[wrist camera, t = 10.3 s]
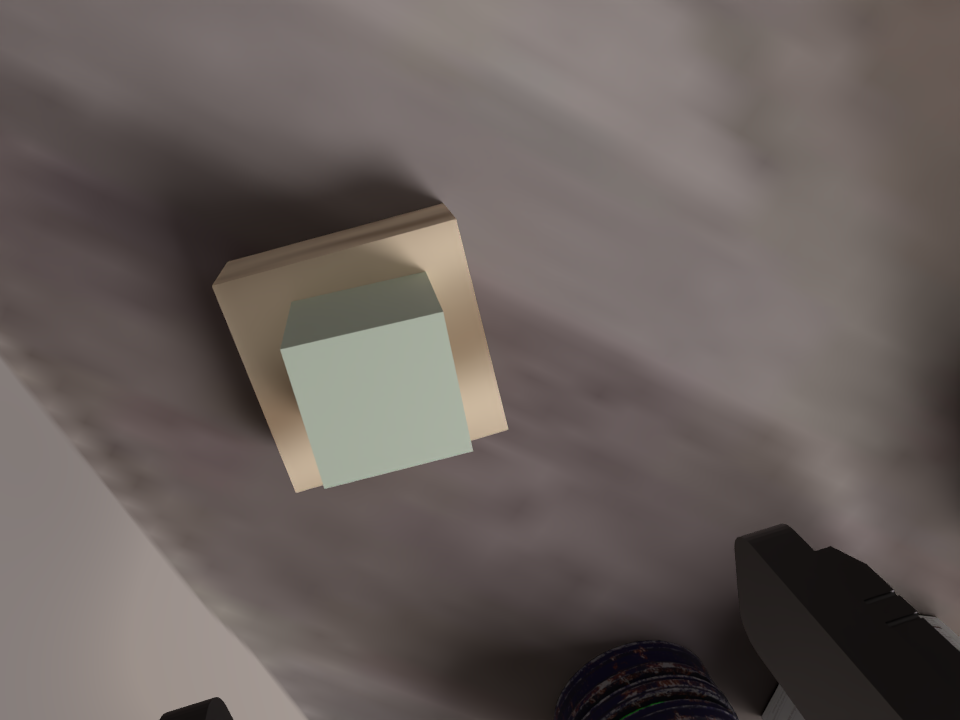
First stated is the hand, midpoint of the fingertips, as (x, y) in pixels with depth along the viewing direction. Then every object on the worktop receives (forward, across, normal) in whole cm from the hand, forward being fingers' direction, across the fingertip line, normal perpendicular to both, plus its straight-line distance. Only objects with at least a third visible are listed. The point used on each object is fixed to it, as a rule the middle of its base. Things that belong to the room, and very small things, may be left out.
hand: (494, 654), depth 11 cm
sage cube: (+17, +1, +1) cm, 17 cm away
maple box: (+21, +2, +2) cm, 21 cm away
